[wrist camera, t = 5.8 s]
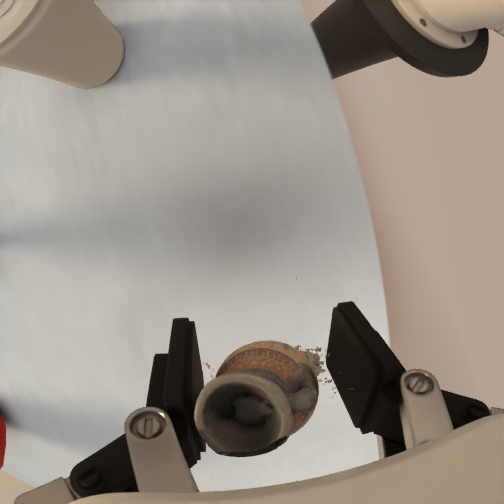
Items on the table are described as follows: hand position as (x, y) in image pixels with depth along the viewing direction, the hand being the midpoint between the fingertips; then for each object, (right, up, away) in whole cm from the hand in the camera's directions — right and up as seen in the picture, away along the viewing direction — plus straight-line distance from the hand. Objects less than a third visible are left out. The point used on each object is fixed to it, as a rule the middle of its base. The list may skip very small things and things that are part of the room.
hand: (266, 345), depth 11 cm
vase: (-1, 0, +1) cm, 1 cm away
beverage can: (-11, +17, +5) cm, 21 cm away
